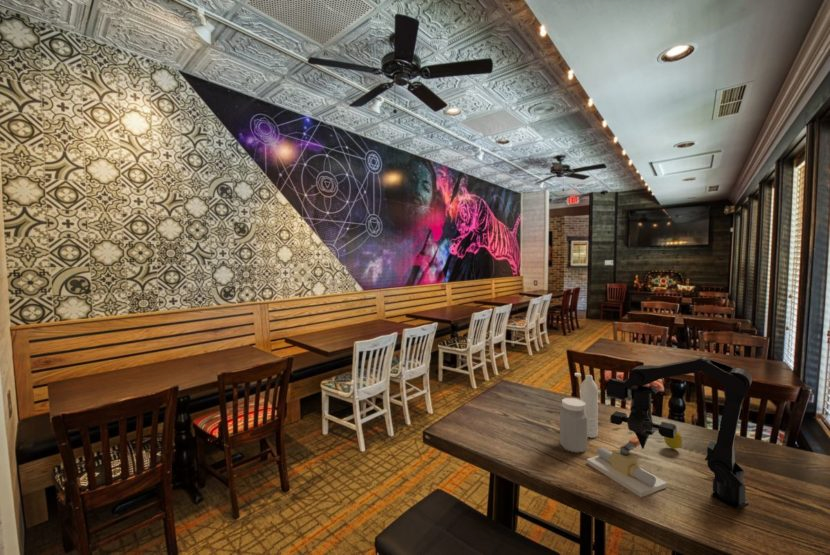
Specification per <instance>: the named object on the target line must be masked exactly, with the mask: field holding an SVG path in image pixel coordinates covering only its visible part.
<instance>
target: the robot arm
mask: <svg viewBox="0 0 830 555" xmlns="http://www.w3.org/2000/svg"><path fill="white" fill-rule="evenodd" d="M696 373H703V374H704V375H707V376H708V377H710V378H712V379H714V380H715V381H716V382H718V383H721V384H722V385H723V393H724V404H723V408H722V414H721V419H720V422H719V423H720V424H719V429H718V434H717V439H716V442H714V441H713V440H710V441H709V443H708V445H707V448H706V455H705V458H704V461H707V463H706V465H707V468H708V469H709V470H710V471H711V473H714V474H713V475H714V477H713V478H712V491H713V492H711V494H710V495H711V497H712V498H714V499H717V500H718V501H720V502H722V503H724V504H726V505H728V506H729V507H732V508H734V509H739V508H741V507H744V506H745V505H748V504H749V500H747V499H746V487H747V486H746V482H743V480H744V475H745V470H744V469H743V468H742V467H741V466H740V465H739V464H738V463H737V462H736V453H735V445H734V444H735V439H736V435H737V434H736V433H737V430H738V424H739V419H740V414H741V409H742V405H743V402H744V400H745V398H746V396H747V394H748V393H749V392H748V391H749V390H750V387H751V384H752V382H753V377H752V374H750V373H749V371H748V370H746V369H743V368H740V367H733V366H730V365H728V364H726V363H723V362H719V361H716V360H713V359H711V358H710V357H707V356H700V357H697V358H692V359H686V360H682V361H677V362H672V363H671V362H670V363H667V364H661V365H648V364H646V365H645V364H644V365H637V366H636V367H634V368H633V369H631V370H630V371H629V373H628V378H627V379H625V380H622V379H616V378H612V377H611V378H609V379H608V382H607V386H606V391H605V392H606V395H607V397H608V398H610V399H617V400H620V401H625V402H626V401H627V400H628V399H631V407H630V413H629V414H627V413H626V412H622V411H619V410H618V411H617V410H616V411H614V412H613V413H612V414H611V415H610V418H609V421H610V423H611V424H614V425H617V426H621V425H622V424H623V423H627V428H628V430H629V431H630V432H633V433H634V434H635V437H637V438H638V440H639V442H640V445H639V446H640V447H641V449H642V450H643V449H645V446H646V443H647V441H648V438H649V437H650V436H653V435H654V434H655V432H656V431H657V432H658V434H659V435H660V436H661V437H663V438H664V437H668V438H674V437H675V435H676V433H677V431H678V429H677V426H676V425H675V424H674V423H669V422H665V421H661V422H660V424H658V423H654V421H653V417H652V416H653V415H652V414H653V413H652V410H653V405H652V395H656V394H657V393H658V392H659V389H657V387H654V385H653V384H651V383H654V382H656V381H659V380H661V379H667V378H672V377H673V378H674V377H679V376H684V375H690V374H696ZM646 385H649V386H646ZM628 415H629V416H628Z"/></svg>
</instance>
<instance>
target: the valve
mask: <svg viewBox="0 0 830 555" xmlns="http://www.w3.org/2000/svg"><path fill="white" fill-rule="evenodd" d="M596 453H597V455H596V456H591V457H589V458H586V464H587V465H589V466H591V467H592V468H594V469H596V470H597V471H599V472H600V473H602V474H603V475H605V476H606V477H608V478H609V479H611V480H613V481H615V483H617V484H619V485H620V486H622V487H624V488H625V489H626V490H628V491H630V492H631V493H633V494H634V495H636V496H638V497H640V498H643V497H645V496H648V495H650V494H653V493H655V492H658V491H661V490H664V489H666V488H668V482H667V481H665V480H663V479H661V478H660V477H658V476H656V475H654V474H652V473H650V472H648V471H647V470H645V469H643V468H641V467H640V466H639V464H638V463H639V462H638V459H639V458H638V456H637V455H635V454H633V453H631V452H629V455H628V456H625V455H622V454H621V453H620V448H619V449H617V450H613V451H609V450H608V449H606V448H604V447H603V446H602V447H601V446H600V447H599V448H597V452H596Z"/></svg>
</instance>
